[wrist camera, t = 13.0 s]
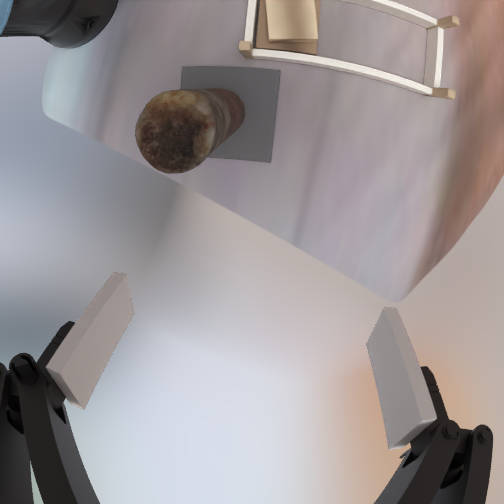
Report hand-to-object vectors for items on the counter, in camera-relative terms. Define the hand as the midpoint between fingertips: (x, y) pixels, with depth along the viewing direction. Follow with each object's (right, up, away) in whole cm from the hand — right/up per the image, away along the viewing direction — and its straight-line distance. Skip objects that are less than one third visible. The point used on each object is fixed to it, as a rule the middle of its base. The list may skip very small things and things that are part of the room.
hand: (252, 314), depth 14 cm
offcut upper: (+5, +33, +14) cm, 37 cm away
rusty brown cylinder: (-5, +23, +24) cm, 33 cm away
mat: (-4, +23, +24) cm, 33 cm away
